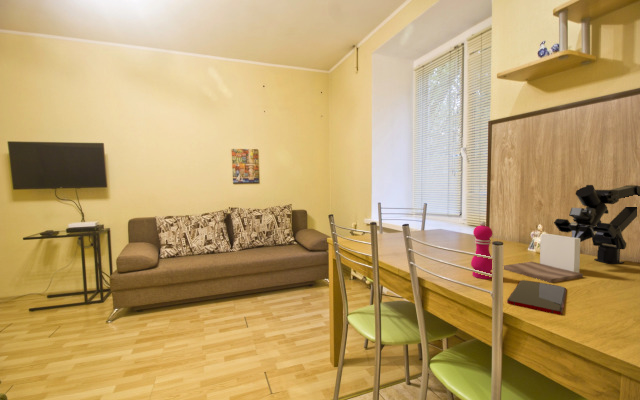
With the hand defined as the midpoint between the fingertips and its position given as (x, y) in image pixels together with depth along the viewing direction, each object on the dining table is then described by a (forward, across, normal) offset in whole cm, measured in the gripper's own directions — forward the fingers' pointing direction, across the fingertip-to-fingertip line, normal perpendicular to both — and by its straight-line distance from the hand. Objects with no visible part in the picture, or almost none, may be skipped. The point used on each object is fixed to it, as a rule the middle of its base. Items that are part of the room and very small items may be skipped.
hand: (572, 243), depth 116 cm
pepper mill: (+36, -4, -22) cm, 42 cm away
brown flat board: (+19, 0, -6) cm, 20 cm away
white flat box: (+12, 0, +1) cm, 12 cm away
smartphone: (+36, +15, -21) cm, 45 cm away
